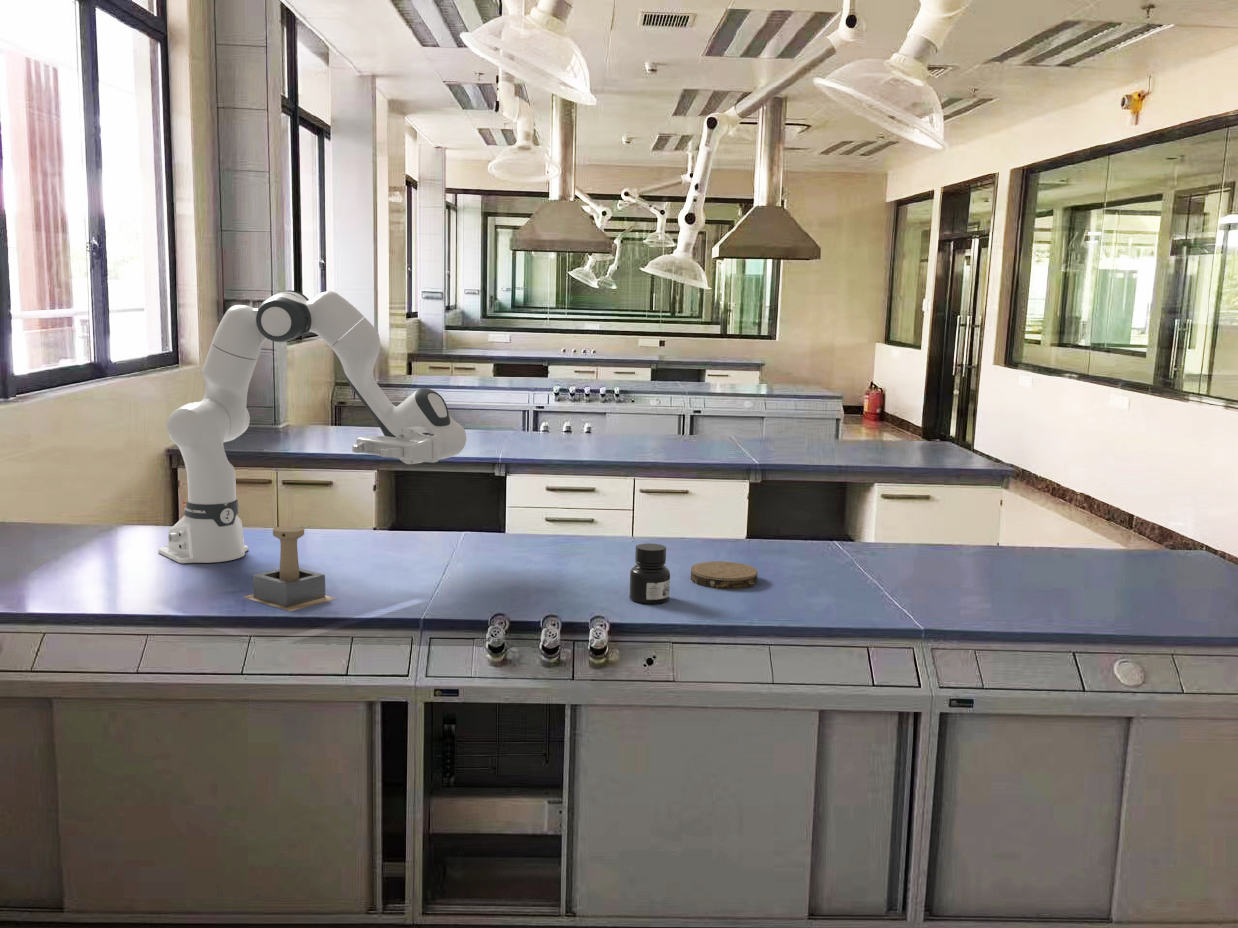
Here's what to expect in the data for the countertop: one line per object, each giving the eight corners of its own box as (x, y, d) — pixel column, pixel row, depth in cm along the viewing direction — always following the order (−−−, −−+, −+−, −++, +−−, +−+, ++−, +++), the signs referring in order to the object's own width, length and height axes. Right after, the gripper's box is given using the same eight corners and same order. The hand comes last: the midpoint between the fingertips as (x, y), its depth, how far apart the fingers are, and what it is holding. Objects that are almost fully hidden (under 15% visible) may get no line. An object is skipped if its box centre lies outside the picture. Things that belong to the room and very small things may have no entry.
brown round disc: (700, 570, 261) (701, 558, 261) (763, 577, 256) (764, 565, 256) (682, 585, 247) (682, 573, 246) (748, 594, 241) (749, 581, 241)
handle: (299, 601, 221) (298, 532, 219) (270, 599, 222) (268, 530, 220) (309, 595, 226) (307, 527, 224) (280, 593, 227) (279, 525, 224)
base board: (242, 601, 224) (242, 596, 224) (289, 589, 234) (288, 585, 233) (290, 615, 215) (290, 611, 215) (336, 602, 225) (336, 598, 224)
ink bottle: (655, 607, 227) (657, 554, 226) (621, 600, 232) (622, 548, 230) (677, 597, 236) (679, 545, 234) (643, 591, 240) (644, 540, 238)
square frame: (253, 597, 223) (253, 575, 222) (292, 588, 231) (291, 566, 230) (286, 607, 217) (286, 584, 216) (325, 597, 225) (324, 574, 224)
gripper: (382, 428, 257) (337, 433, 246) (442, 436, 245) (399, 441, 234) (382, 453, 258) (338, 459, 247) (442, 462, 246) (399, 469, 235)
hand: (368, 451), depth 240 cm, fingers open, 8 cm apart
